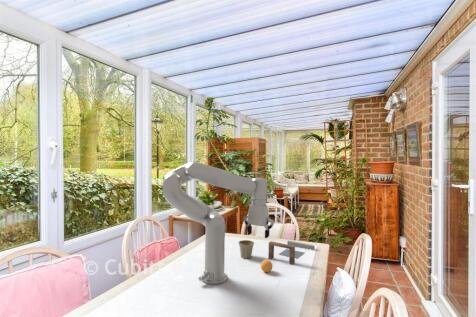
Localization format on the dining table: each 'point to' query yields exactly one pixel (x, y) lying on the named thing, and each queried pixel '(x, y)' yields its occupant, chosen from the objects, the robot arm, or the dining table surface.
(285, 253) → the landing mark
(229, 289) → the dining table surface
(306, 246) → the stopper
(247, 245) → the flower pot
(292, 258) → the bridge
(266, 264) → the ball
